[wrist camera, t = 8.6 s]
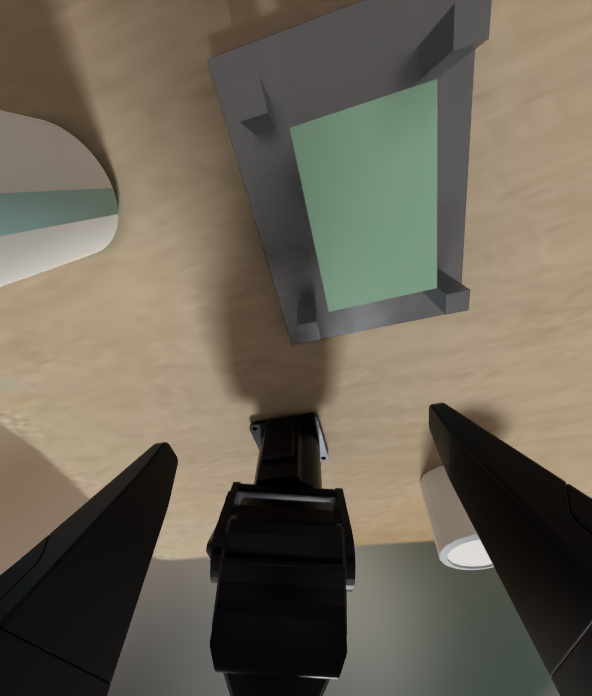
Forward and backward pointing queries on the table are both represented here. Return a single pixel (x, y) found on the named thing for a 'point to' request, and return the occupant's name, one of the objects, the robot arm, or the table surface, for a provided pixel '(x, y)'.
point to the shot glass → (451, 524)
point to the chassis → (336, 95)
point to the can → (49, 198)
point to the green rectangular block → (373, 196)
